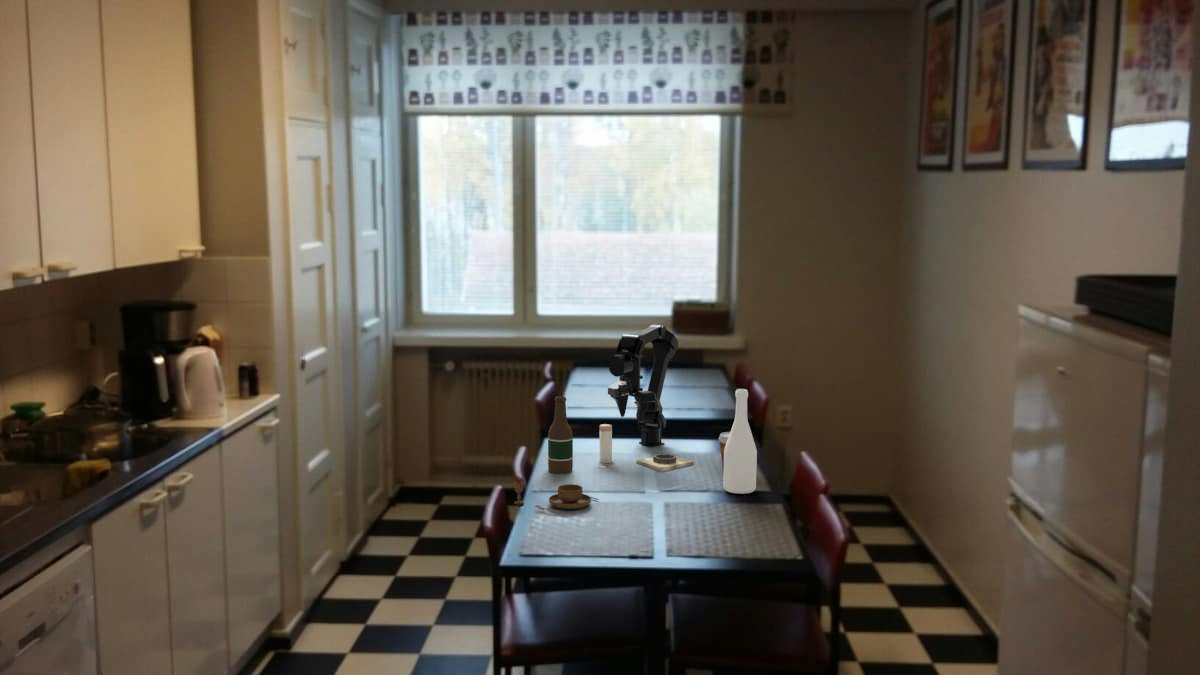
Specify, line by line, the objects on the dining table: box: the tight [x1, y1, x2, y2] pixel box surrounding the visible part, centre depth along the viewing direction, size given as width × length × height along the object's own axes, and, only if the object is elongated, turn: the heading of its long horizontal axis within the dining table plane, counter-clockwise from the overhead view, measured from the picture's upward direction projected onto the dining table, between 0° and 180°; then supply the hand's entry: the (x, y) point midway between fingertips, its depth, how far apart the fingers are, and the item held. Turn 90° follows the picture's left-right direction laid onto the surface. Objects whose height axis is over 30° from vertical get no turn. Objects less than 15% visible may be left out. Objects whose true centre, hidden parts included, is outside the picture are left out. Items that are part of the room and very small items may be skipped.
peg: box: [599, 423, 613, 464], centre depth 326 cm, size 4×4×12 cm
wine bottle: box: [722, 388, 758, 495], centre depth 295 cm, size 10×10×30 cm
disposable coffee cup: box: [718, 431, 731, 473], centre depth 316 cm, size 10×10×12 cm
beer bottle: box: [547, 395, 574, 475], centre depth 315 cm, size 8×8×24 cm
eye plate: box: [635, 453, 694, 472], centre depth 325 cm, size 14×12×3 cm
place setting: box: [513, 481, 600, 514], centre depth 285 cm, size 18×20×6 cm
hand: (631, 418), depth 334 cm, fingers open, 9 cm apart
